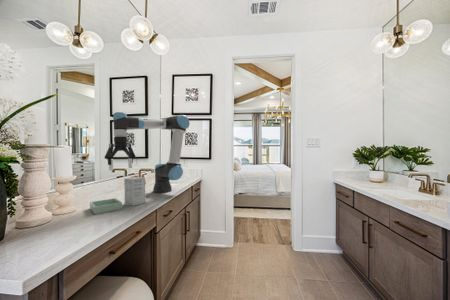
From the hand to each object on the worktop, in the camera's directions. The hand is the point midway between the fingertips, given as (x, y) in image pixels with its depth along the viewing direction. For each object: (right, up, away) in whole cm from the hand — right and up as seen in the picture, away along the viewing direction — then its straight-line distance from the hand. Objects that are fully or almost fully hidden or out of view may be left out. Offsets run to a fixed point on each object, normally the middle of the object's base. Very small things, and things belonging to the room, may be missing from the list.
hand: (121, 169), depth 130 cm
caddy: (-3, -23, -11) cm, 25 cm away
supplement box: (+9, -23, +1) cm, 24 cm away
